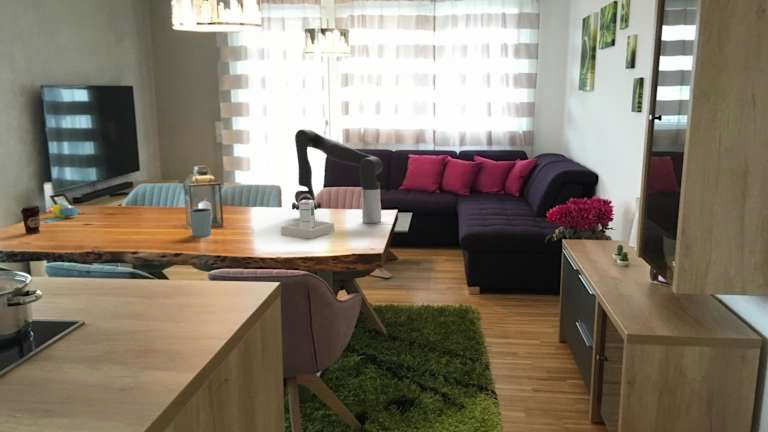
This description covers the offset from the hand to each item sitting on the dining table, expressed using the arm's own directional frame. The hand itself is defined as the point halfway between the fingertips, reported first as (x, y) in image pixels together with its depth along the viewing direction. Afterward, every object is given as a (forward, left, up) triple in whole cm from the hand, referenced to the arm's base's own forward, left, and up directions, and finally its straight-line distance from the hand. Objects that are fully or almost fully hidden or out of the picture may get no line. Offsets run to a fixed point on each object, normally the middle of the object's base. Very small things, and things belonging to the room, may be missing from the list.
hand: (306, 208), depth 315 cm
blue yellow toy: (+42, -136, -11) cm, 143 cm away
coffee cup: (+72, -113, -11) cm, 134 cm away
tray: (+6, +5, -10) cm, 13 cm away
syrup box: (+6, +5, -10) cm, 12 cm away
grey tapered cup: (+34, -37, -11) cm, 51 cm away
